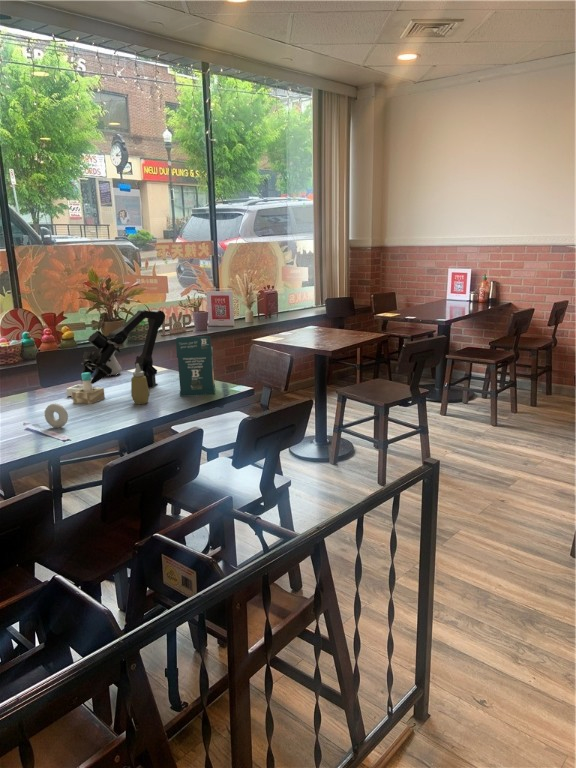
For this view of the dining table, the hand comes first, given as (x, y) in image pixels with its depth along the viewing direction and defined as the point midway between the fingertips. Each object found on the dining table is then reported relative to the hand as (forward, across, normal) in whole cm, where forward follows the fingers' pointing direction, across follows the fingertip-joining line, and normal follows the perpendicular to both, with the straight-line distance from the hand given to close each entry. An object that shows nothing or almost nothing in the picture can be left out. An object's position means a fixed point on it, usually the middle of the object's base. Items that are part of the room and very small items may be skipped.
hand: (86, 382), depth 259 cm
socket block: (+6, 0, +6) cm, 9 cm away
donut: (+27, +28, -14) cm, 41 cm away
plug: (+6, 0, +6) cm, 9 cm away
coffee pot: (-16, -38, +29) cm, 51 cm away
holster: (+4, -13, +8) cm, 16 cm away
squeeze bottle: (-2, +24, +15) cm, 29 cm away
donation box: (-23, +29, +36) cm, 52 cm away
